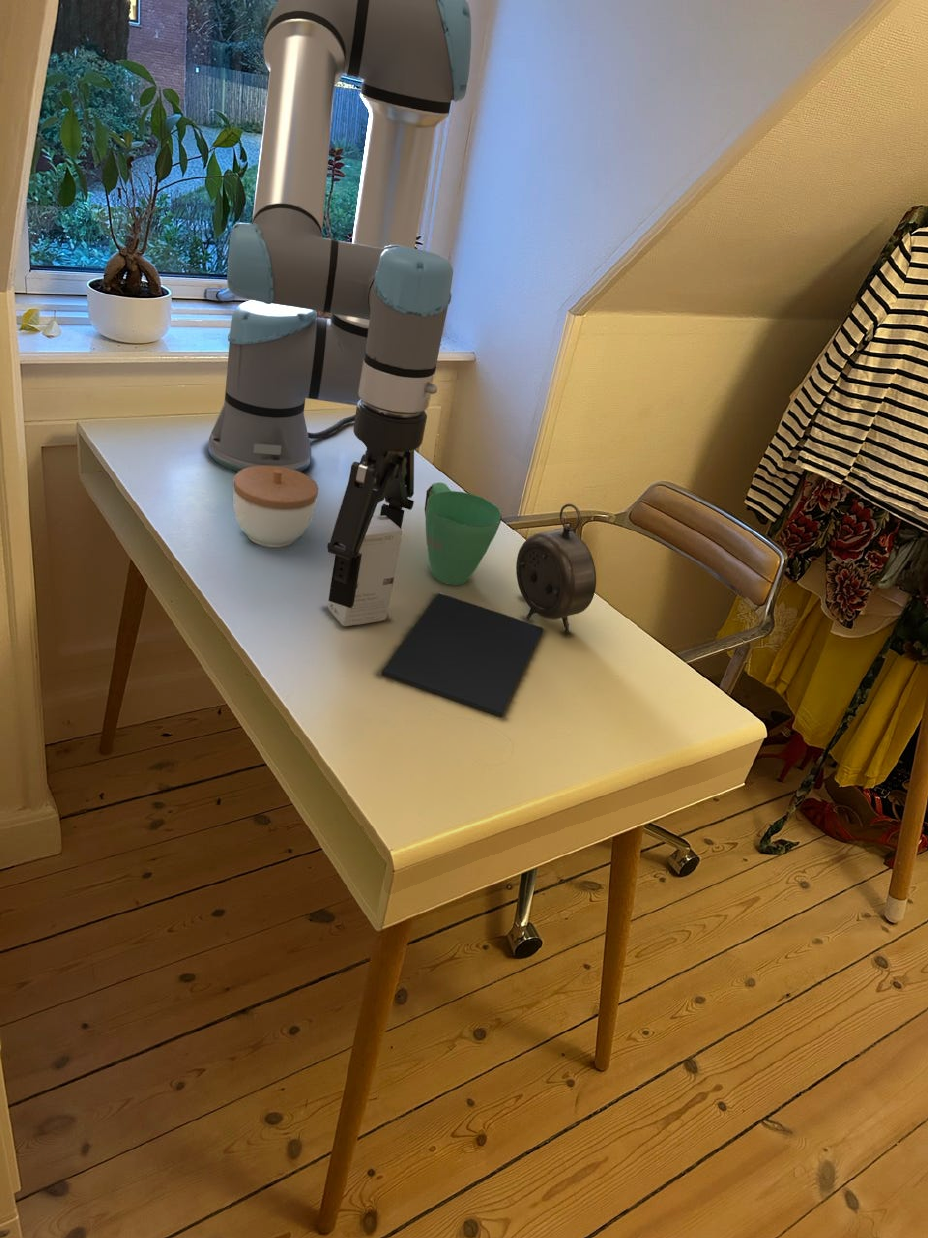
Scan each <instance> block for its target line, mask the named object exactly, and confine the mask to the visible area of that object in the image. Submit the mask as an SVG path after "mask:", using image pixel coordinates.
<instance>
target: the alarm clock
mask: <svg viewBox="0 0 928 1238" xmlns="http://www.w3.org/2000/svg"><path fill="white" fill-rule="evenodd" d="M567 507H572V508H573V509H574V510H575V512H576V514H577V523H576V525H575V527H574V528H572V527H571V525H570V524H565V523H564V521H563V511H564V510H565V509H566V508H567ZM581 520H582V517H581V512H580V510H579V508H578V507H577V506H576V505H575V504H573V503H566V504H564V505H562V506H561V508H560V511H559V521H560V524H561V526H562V528H561V527H560V528H555V529H552V530H551V529H550V530H545V531H541V532H537V533H534V534H532V535H530V536H529V537H528V538H526V540H525V541H524V542H523V543H522V545H521V546H520V548H519V551H518V553H517V556H516V564H515V565H516V566H515V573H516V580H517V585H518V588H519V592H520V594H521V596H522V598H523V599H524V602H525V603H526V605H527V606H528V607H529V608H530V609H529V611H528V612H527V614H526V615H525V620H526V621H530V620H531V618H532V616H533V615H534V614H536V615H538V616H539V617H541V618H544V619H546V620H552V621H553V620H559V619H561V622H562V625H563V628H564V634H565V635H570V634H571V631H570V622H569V620H568V619H569V618H568V617H571V616H574V615H579V614H581V613H583V612H584V611H586V610H587V609H588V608H589V606H590V605H591V603H592V601H593V599H594V597H595V593H596V588H597V587H596V586H597V571H596V565H595V562H594V558H593V556H592V553H591V551H590V549H589V548H588V546H587V543H585V542H584V540H583V539H582V538H581V537H580V536H579V535H578V534H577V533H575V532H574V531H576V530H577V529H578V528H579V527H580V524H581Z"/></svg>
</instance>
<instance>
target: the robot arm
mask: <svg viewBox="0 0 928 1238" xmlns="http://www.w3.org/2000/svg"><path fill="white" fill-rule="evenodd" d="M264 34H265V35H264V40H263V49H262V51H263V59H264V63H265V65H266V68H267V70H268V71H269V74H268V75H269V77H268V84H267V92H266V101H265V110H264V119H263V125H262V126H263V127H262V134H261V135H262V136H261V143H260V144H261V145H260V146H261V147H260V153H259V162H258V168H257V169H258V171H257V179H256V185H255V186H256V187H255V195H254V205H253V213H252V221H251V222H250V221H249V223H247V222H236V223H235V224H234V225H233V226H232V228H231V233H230V239H229V246H228V247H229V248H228V256H227V258H228V259H227V273H226V276H227V278H226V281H227V283H226V284H227V287H228V290H229V291H230V292H231V293H232V295H234V296H236V297H240V298H242V299H247V301H244V302H242V303H239V305H238V306H237V307H236V308H234V310H233V311H232V315H231V321H230V329H229V333H228V336H227V341H228V342H229V344H228V345H229V346H228V357H227V368H226V378H225V379H226V380H225V381H226V382H225V390H224V391H225V392H224V402H223V405H222V407H221V409H220V412H219V414H218V416H217V419H216V422H215V423H214V426H213V428H212V430H211V432H210V435H209V437H208V454H209V456H210V457H211V458H212V459H213V460H214V461H215V462H216V463H218V464H220V465H221V466H223V467H225V468H228V469H229V470H231V471H235V472H237V473H238V472H239V471H241V470H243V469H245V468H249V467H253V466H279V467H284V468H289V469H293V470H296V471H299V472H301V473H302V472H304V471H305V470H306V469H308V467H309V466H310V463H311V458H312V457H311V456H312V448H311V443H310V439H311V440H317V439H321V438H323V437H326V436H329V435H331V434H332V433H334V432H336V431H338V430H340V428H342V427H343V426H344V425H347V424H349V423H353V427H352V428H353V429H352V431H353V435H354V436H355V437H356V438H357V440H359V441H360V442H361V443H362V444H364V446H365V447H366V450H365V453H363V454H362V455H361V458H360V461H356V460H355V461H353V462H352V464H351V465H350V471H349V476H348V480H347V481H348V482H347V486H346V489H345V492H344V495H343V498H342V502H341V505H340V508H339V511H338V515H337V518H336V521H335V524H334V527H333V531H332V534H331V537H330V541H329V542H327V545H326V548H327V553H328V554H331V555H334V559H333V567H332V574H331V579H330V580H331V581H330V586H329V592H328V593H329V594H328V600H327V601H328V602H329V601H331V602H333V603H336V604H339V605H342V606H345V607H348V608H352V606H353V605H354V599H355V593H356V587H357V581H358V574H359V568H360V562H361V556H362V554H360V553H359V551H360V548H361V545H362V543H363V540H364V538H365V535H366V532H367V530H368V527H369V525H370V522H371V519H372V517H374V514H375V512H376V509H377V506H378V504H379V503H380V502H383V501H385V503H383V504H382V505H381V506H380V507H381V508H380V513H379V516H387V517H388V518H389V519H390V520H391V521H393V522H394V523H395V524H396V525H397V526H398V527H399V528H401V529H402V528H403V524H404V523H403V521H404V517H405V512H406V511H405V509H406V510H410V511H411V510H412V509H413V506H414V504H415V501H414V500H412V498H413V496H414V493H415V483H414V482H415V450H417V449H418V448H420V447H421V446H422V444H423V441H424V436H425V430H426V425H427V421H428V414H427V412H426V411H427V410H428V408H429V407H430V401H431V396H432V395H435V394H436V393H437V391H438V386H437V385H436V384H434V383H433V382H434V379H435V374H436V370H437V364H438V358H439V353H440V347H441V344H442V343H441V341H442V337H443V332H444V328H445V322H446V319H447V312H448V308H449V305H450V304H451V301H452V292H451V291H452V284H453V278H454V269H453V266H452V263H451V262H450V261H449V260H448V259H447V258H444V257H442V256H440V255H438V254H437V253H435V252H431V251H428V250H427V251H426V250H423V249H420V248H415V247H416V241H417V234H418V229H419V224H420V217H421V211H422V206H423V200H424V193H425V188H426V184H427V183H426V182H427V177H428V171H429V165H430V158H431V153H432V146H433V140H434V135H435V130H436V129H435V128H436V127H437V126H438V124H440V123H441V122H443V121H444V120H445V119H446V118H448V117H449V115H450V112H451V106H452V105H451V104H452V101H454V102H455V103H457V102H461V101H462V100H463V99H464V98H465V96H466V94H467V87H468V82H469V77H470V67H471V54H472V17H471V10H470V6H469V3H468V1H467V0H278V1H277V3H276V5H275V6H274V8H273V10H272V12H271V14H270V16H269V18H268V22H267V25H266V28H265V33H264ZM343 76H346V77H349V78H353V79H354V78H355V79H359V80H361V84H360V90H359V91H360V92H359V97H360V98H361V100H362V101H363V104H364V105H365V107H366V108H367V109H368V113H369V117H368V123H367V131H366V138H365V146H364V153H363V160H362V167H361V174H360V182H359V190H358V196H357V204H356V211H355V219H354V226H353V233H352V242H348V241H344V240H339V239H333V238H328V237H323V227H324V226H323V225H324V216H325V215H324V214H325V204H326V203H325V202H326V193H327V191H326V190H327V181H328V179H327V178H328V170H329V169H328V167H329V155H330V143H331V131H332V119H333V109H334V96H335V87H336V85H338V83H339V82H340V81H341V79H342V77H343ZM317 311H318V312H323V313H328V314H331V316H330V318H325V317H318V313H317ZM306 399H310V400H317V401H322V402H329V403H337V404H343V405H349V406H355V407H356V409H355V414H354V415H350V416H348V417H344V418H342V419H340V420H339V421H337V422H336V423H335V424H333V425H332V426H330V427H328V428H325V429H324V430H321V431H317V432H308V429H307V423H306V418H305V405H306Z"/></svg>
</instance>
